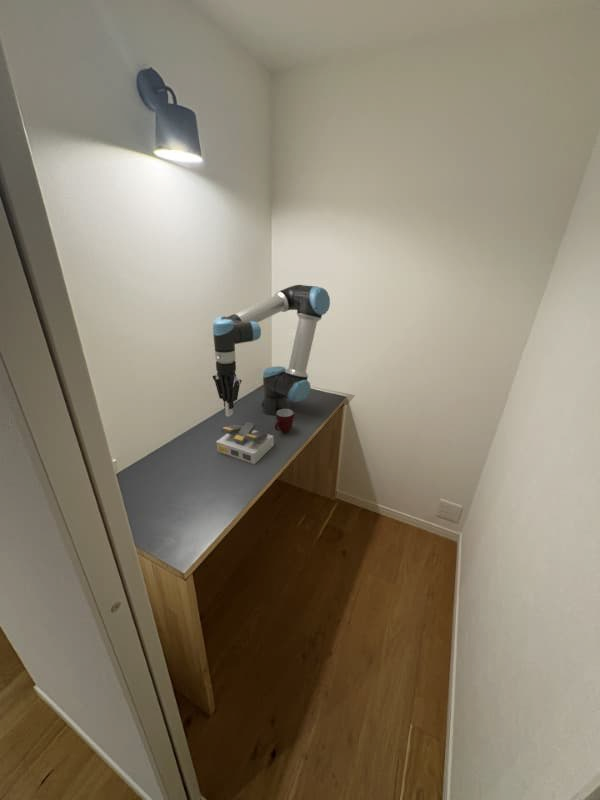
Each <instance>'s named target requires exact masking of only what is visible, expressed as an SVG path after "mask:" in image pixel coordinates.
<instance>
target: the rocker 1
mask: <svg viewBox="0 0 600 800" xmlns="http://www.w3.org/2000/svg"><path fill="white" fill-rule="evenodd" d="M243 426H244V425H239V424H233V425H229V426H223V427H222V428H221V433H224V434H233V433H237V432H239V431H240V430H241V428H242V427H243Z"/></svg>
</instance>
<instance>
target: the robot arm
mask: <svg viewBox="0 0 600 800" xmlns="http://www.w3.org/2000/svg"><path fill="white" fill-rule="evenodd" d="M330 304H331V299H330V295H329V293H328V291H327V290H326V289H325V288H323V287H319V286H316V285H306V284H305V285H304V284H295V285H291V286H288V287H286V288H284V289H282V290H279V291H277V292H275V294H274V295H273V296H271V297H269V298H267V299H265V300H264V299H263V301H260V302H257V303H255V304H253V305H251V306H249V307H246V308H245V309H242V310H240V311H238V312H236V313H233V314H231V315H229V316H218V317H217V318H216V319H215V320H214V321H213V323H212V334H213V343H214V344H213V345H214V357H215V361H216V362H215V368H216V372H217V374H214V375H213V376H212V379H213V381H214V383H215V387H216V390H217V395H218V398H219V399H220V400H222V401H223V407H224V409H225V416H226V417H228V418H229V417H231V416H233V414H234V407H235V406H234V402H235V401H237V400H238V398H239V397H238V396H239V392H240V391H239V390H240V386H241V383H242V382H243V381H242V379H239V378H238V377H237V375H236V370H237V365H236V362H237V361H236V359H237V358H236V347H235V346H236V345H238V344H244V343H249V342H250V343H251V342H254V341H257V340H259V339H260V338H261V335H262V329H261V326H260V324H259V323H260V322H261V321H264V320H266V319H268V318H270V317H273V316H275V315H276V314H279V313H281V312H282V313H285V312H288V311H296V315H297V317H298V322H297V326H296V327H297V328H296V332H295V335H294V341H293V346H292V350H291V355H290V360H289V365H288V368H287V369H286V367H285V366H278V365H277V366H270V367H267V368H265V369H264V370H263V372H262V381H263V382H262V383H263V399H262V401H261V406H260V407H261V411H262V413H265V415H271V416H276V412H277V411H278V410H280V409H290V402H289V401H292V402H295V403H300V402H302V401H304V400H305V399H307V397H308V395H309V394H310V392H311V383H310V382H309V381H308V378H309V375H308V373H307V367H308V365H309V364H308V363H309V360H310V359H309V358H310V354H311V350H312V347H313V342H314V338H315V332H316V328H317V324H318V322H320V321H321V320H322V316H324V315H326V314H327V312H328V311H329V309H330V307H331V306H330Z"/></svg>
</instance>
